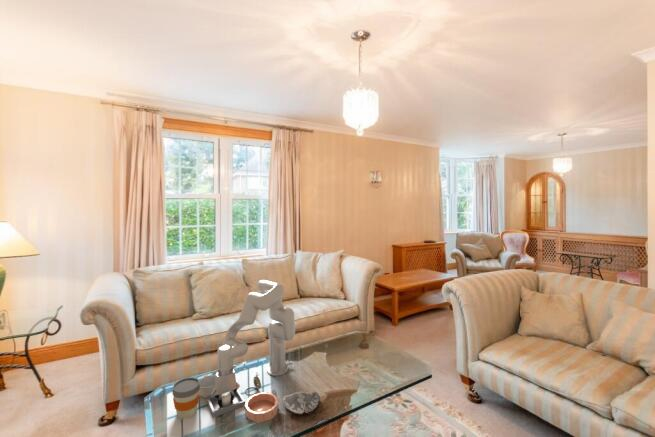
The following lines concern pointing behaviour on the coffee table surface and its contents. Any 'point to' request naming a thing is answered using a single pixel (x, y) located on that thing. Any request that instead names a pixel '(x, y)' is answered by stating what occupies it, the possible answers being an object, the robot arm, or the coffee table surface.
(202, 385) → the teacup
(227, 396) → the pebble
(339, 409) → the coffee table surface
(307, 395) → the brain slice
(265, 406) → the bowl
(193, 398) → the reusable coffee cup
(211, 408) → the tray
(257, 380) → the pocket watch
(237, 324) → the robot arm
